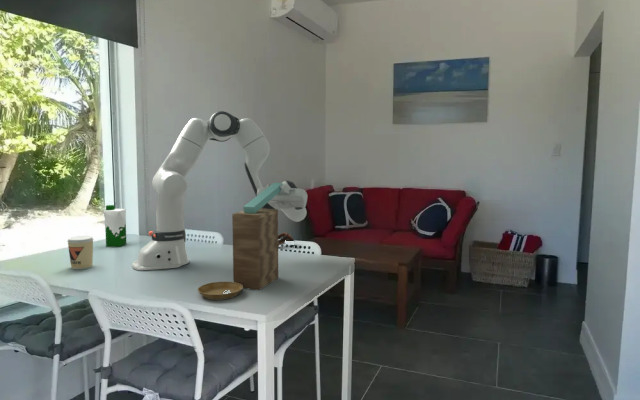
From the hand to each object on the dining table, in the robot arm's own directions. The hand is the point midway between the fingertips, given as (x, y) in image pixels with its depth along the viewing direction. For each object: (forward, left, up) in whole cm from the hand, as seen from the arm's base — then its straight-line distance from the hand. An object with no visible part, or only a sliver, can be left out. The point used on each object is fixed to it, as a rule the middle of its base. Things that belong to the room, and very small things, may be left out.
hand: (274, 186), depth 182 cm
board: (-7, -5, -4) cm, 10 cm away
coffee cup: (-65, +46, -34) cm, 87 cm away
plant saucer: (-28, -17, -34) cm, 48 cm away
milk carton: (-47, +84, -34) cm, 102 cm away
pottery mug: (+24, +39, -34) cm, 57 cm away
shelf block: (-12, -10, -34) cm, 37 cm away
